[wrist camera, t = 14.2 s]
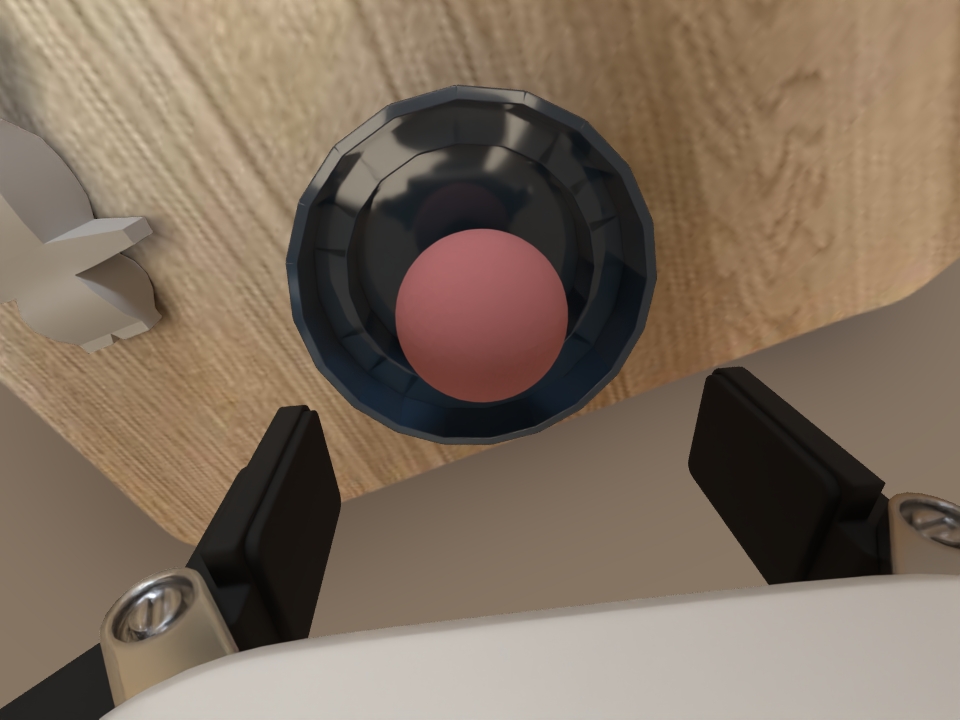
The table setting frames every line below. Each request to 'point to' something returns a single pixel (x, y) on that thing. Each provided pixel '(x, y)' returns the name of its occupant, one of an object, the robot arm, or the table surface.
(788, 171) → the table surface
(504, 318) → the light bulb
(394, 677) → the robot arm
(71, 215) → the bunny figurine
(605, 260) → the dark grey round tub
